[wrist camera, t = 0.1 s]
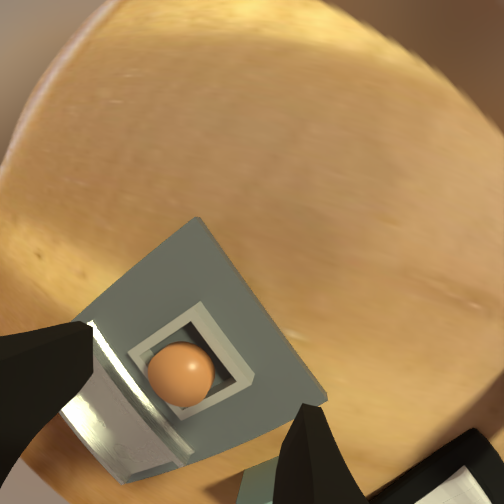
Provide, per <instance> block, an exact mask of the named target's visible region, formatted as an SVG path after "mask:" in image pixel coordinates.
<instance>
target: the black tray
mask: <svg viewBox="0 0 504 504" xmlns="http://www.w3.org/2000/svg"><path fill="white" fill-rule="evenodd" d="M369 503H370V504H504V463H503V461H502V459H501V457H500V456H499V454H498V453H497V451H496V450H495V449H494V448H493V446H492V445H491V444H490V442H489V441H488V440H487V439H486V438H485V437H484V436H483V435H482V434H481V433H480V432H479V431H478V430H477V429H475V428H472V429H469V430H467V431H466V432H465V433H463V434H462V435H460V436H459V437H457V438H455V439H454V440H452V441H451V442H449V443H448V444H446V445H444V446H443V447H442V448H440V449H439V450H437V451H436V452H435V453H433V454H432V455H431V456H429V457H428V458H427V459H425V460H424V461H423V462H421V463H420V464H418V465H417V466H416V467H414V468H413V469H411V470H410V471H409V472H408V473H406V474H405V475H404V476H403V477H401V478H400V479H399V480H397V481H396V482H395V483H393V484H392V485H391V486H389V487H388V488H387V489H385V490H384V491H383V492H381V493H380V494H379V495H378V496H376V497H375V498H374V499H373V500H371V501H370V502H369Z"/></svg>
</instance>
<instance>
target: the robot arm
mask: <svg viewBox="0 0 504 504" xmlns="http://www.w3.org/2000/svg"><path fill="white" fill-rule="evenodd" d="M93 373H94V370H93V327H92V326H89V325H87V324H85V323H83V322H81V321H75V322H69V323H64V324H60V325H55V326H51V327H47V328H42V329H38V330H33V331H29V332H24V333H18V334H12V335H6V336H0V488H1V486H2V484H3V482H4V481H5V479H6V477H7V476H8V474H9V472H10V470H11V469H12V467H13V466H14V464H15V463H16V461H17V460H18V458H19V457H20V455H21V454H22V452H23V451H24V450H25V448H26V447H27V446H28V444H29V443H30V442H31V441H32V439H33V438H34V437H35V435H36V434H37V433H38V432H39V431H40V430H41V429H42V428H43V427H44V426H45V425H46V424H47V423H48V422H49V421H50V420H51V419H52V418H53V417H54V416H55V415H56V414H57V413H58V412H59V411H60V410H61V409H62V408H63V407H64V406H66V405H67V404H68V403H69V402H70V401H71V400H72V399H73V398H74V397H75V396H76V395H77V394H78V393H79V391H80V390H81V389H82V388H83V386H84V385H85V384H86V382H87V381H88V380H89V378H90V377H91V376H92V374H93ZM272 504H370V503H369V502H368V501H367V499H366V498H365V496H364V495H363V493H362V492H361V490H360V488H359V487H358V485H357V483H356V482H355V480H354V478H353V476H352V475H351V473H350V471H349V469H348V467H347V465H346V463H345V461H344V459H343V457H342V455H341V453H340V451H339V449H338V446H337V444H336V442H335V440H334V437H333V435H332V432H331V430H330V428H329V425H328V423H327V420H326V417H325V415H324V412H323V410H322V408H321V407H317V406H313V405H309V404H304V403H302V405H301V407H300V409H299V411H298V413H297V415H296V417H295V419H294V421H293V423H292V425H291V427H290V429H289V431H288V433H287V435H286V437H285V439H284V441H283V443H282V446H281V450H280V454H279V458H278V463H277V467H276V473H275V482H274V491H273V500H272Z"/></svg>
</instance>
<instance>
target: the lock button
mask: <svg viewBox="0 0 504 504" xmlns="http://www.w3.org/2000/svg"><path fill="white" fill-rule="evenodd" d="M148 379H149V382H150V385H151V387H152V388H153V390H154V391H155V393H156V394H157V395H158V396H159V397H160V398H161V399H163V400H164V401H166V402H167V403H169V404H172V405H174V406H178V407H191V406H194V405H197V404H198V403H200V402H201V401H202V400H203V399H204V398H205V396H206V395H207V393H208V391H209V389H210V388H211V386H212V384H213V382H214V379H215V368H214V364H213V362H212V360H211V358H210V357H209V355H208V354H207V353H206V352H205V351H204V350H203V349H202V348H200V347H199V346H197V345H195V344H193V343H190V342H185V341H177V342H173V343H170V344H168V345H167V346H166V347H164V348H163V349H162V350H161V351H160V352H159V353H157V354H156V355H155V356H154V357H153V358H152V359H151V361H150V363H149V366H148Z"/></svg>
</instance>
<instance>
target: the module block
mask: <svg viewBox="0 0 504 504" xmlns="http://www.w3.org/2000/svg"><path fill="white" fill-rule="evenodd" d="M278 458H279V456H277V457H275V458H273V459H270V460H268V461H266V462H263V463H261V464H258V465H256V466H253V467H251V468H248V469H245V470H244V474H243V478H242V482H241V485H240V489H239V493H238V497H237V501H236V504H272V500H273V491H274V482H275V473H276V467H277V463H278Z"/></svg>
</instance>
